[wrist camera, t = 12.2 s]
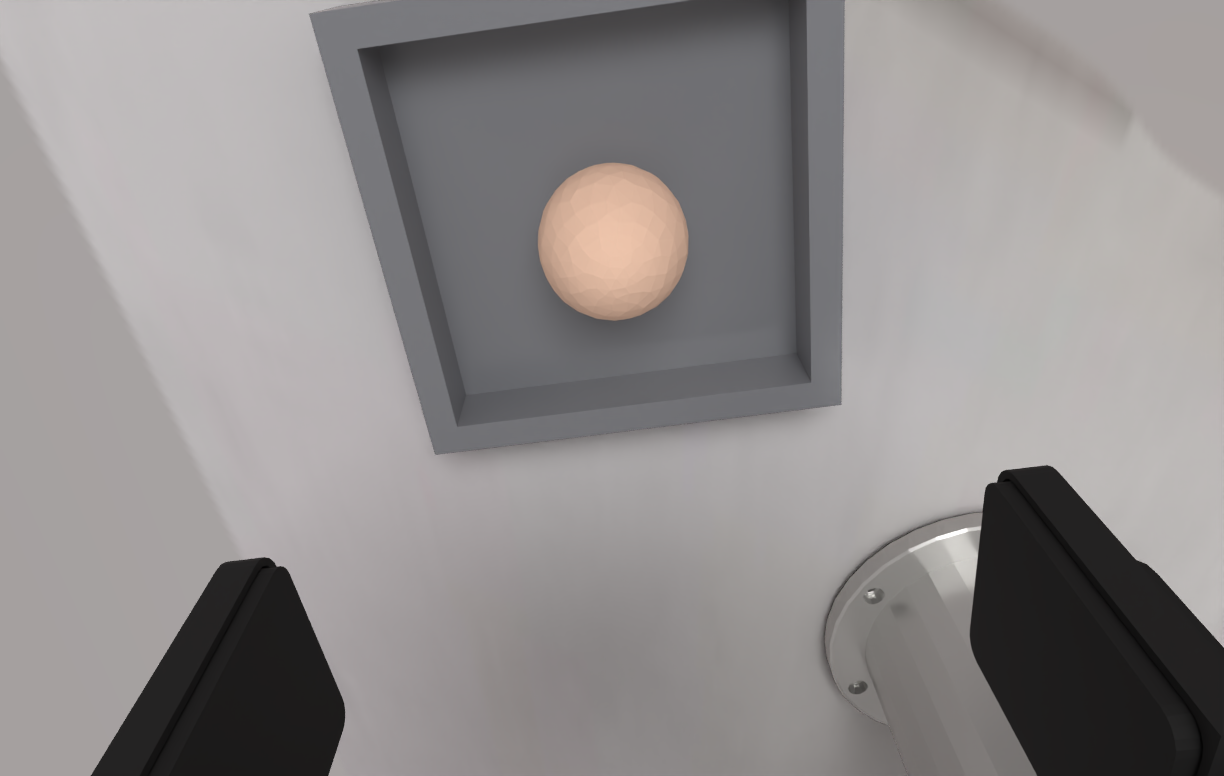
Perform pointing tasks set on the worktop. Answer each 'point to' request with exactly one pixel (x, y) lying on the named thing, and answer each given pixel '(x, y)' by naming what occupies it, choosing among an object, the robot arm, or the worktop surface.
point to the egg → (613, 241)
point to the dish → (569, 142)
